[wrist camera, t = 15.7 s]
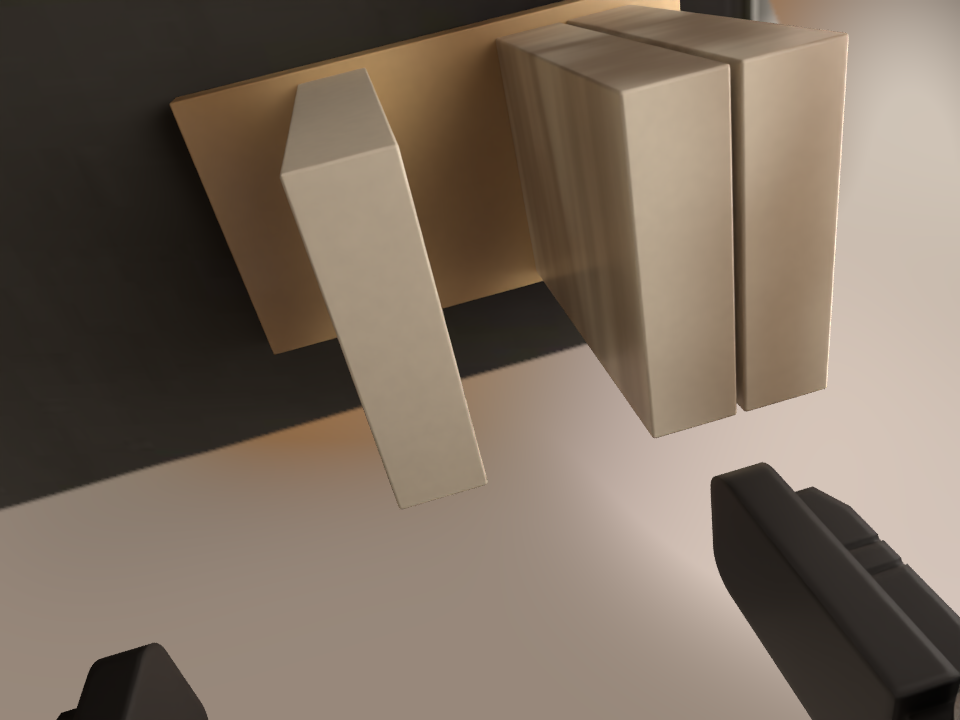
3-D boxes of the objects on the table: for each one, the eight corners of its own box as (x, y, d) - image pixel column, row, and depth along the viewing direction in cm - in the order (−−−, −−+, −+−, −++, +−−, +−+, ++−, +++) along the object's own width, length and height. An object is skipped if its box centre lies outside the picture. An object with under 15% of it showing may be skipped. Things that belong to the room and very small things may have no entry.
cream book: (371, 314, 29) (400, 511, 18) (297, 84, 24) (277, 174, 14) (429, 298, 29) (488, 484, 18) (365, 66, 24) (398, 143, 14)
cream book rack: (275, 342, 30) (246, 574, 18) (174, 97, 24) (48, 212, 13) (680, 231, 31) (887, 386, 19) (664, -25, 26) (934, -16, 14)
